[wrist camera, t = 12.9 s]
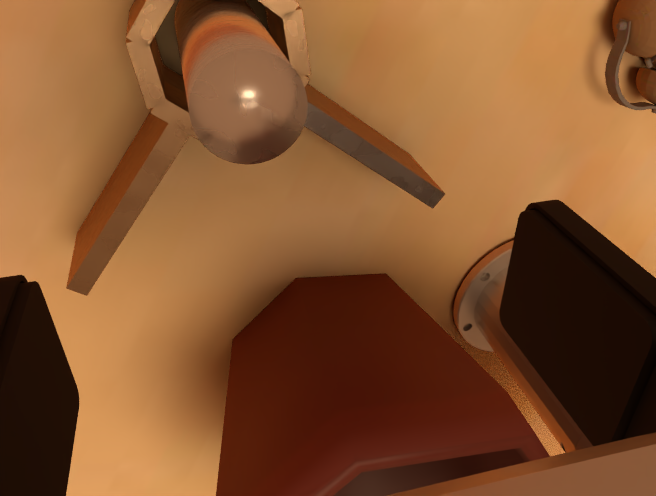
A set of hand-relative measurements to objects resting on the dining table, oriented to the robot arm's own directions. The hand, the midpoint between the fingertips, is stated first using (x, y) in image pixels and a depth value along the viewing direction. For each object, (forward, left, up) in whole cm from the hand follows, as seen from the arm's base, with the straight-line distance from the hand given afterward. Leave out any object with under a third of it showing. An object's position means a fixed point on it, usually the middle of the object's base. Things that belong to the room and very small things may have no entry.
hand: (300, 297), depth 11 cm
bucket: (-22, +17, -26) cm, 38 cm away
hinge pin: (-1, 0, -26) cm, 26 cm away
